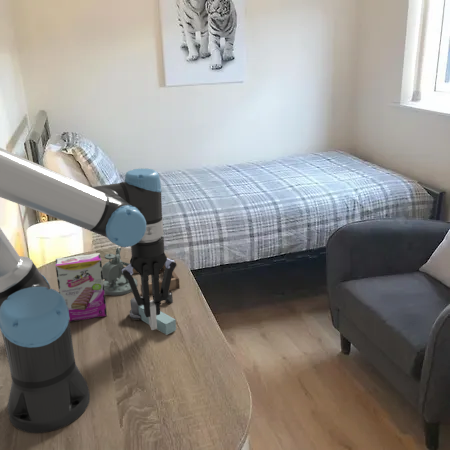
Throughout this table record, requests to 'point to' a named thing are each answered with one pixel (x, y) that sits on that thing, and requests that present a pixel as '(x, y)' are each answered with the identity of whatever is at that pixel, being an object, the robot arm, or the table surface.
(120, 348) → the table surface
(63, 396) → the robot arm
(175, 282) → the seat frame
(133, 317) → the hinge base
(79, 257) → the candy bar box
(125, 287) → the figurine
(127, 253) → the table surface
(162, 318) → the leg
